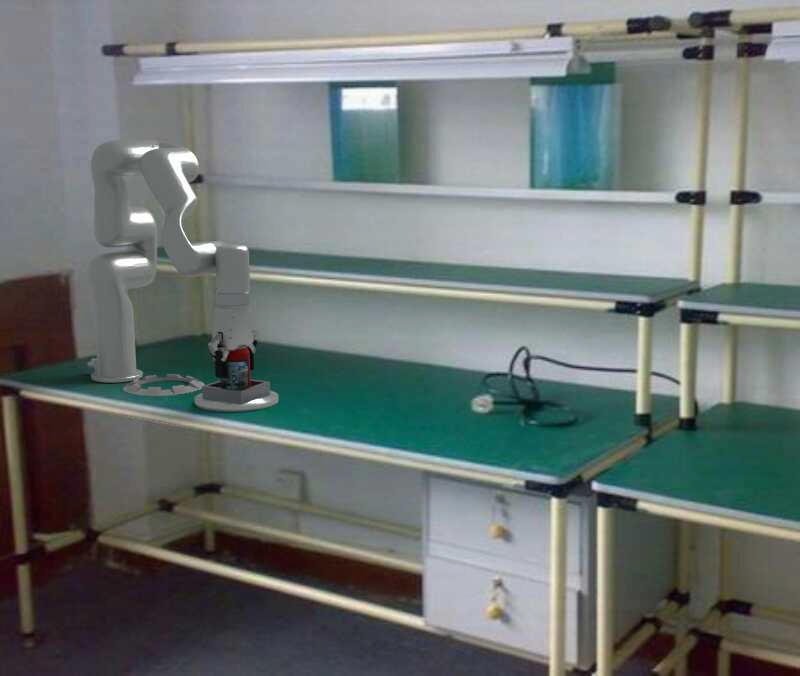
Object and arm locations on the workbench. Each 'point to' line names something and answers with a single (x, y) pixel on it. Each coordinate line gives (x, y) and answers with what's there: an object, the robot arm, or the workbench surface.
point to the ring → (156, 391)
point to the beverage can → (237, 369)
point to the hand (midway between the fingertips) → (235, 373)
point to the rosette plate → (236, 397)
